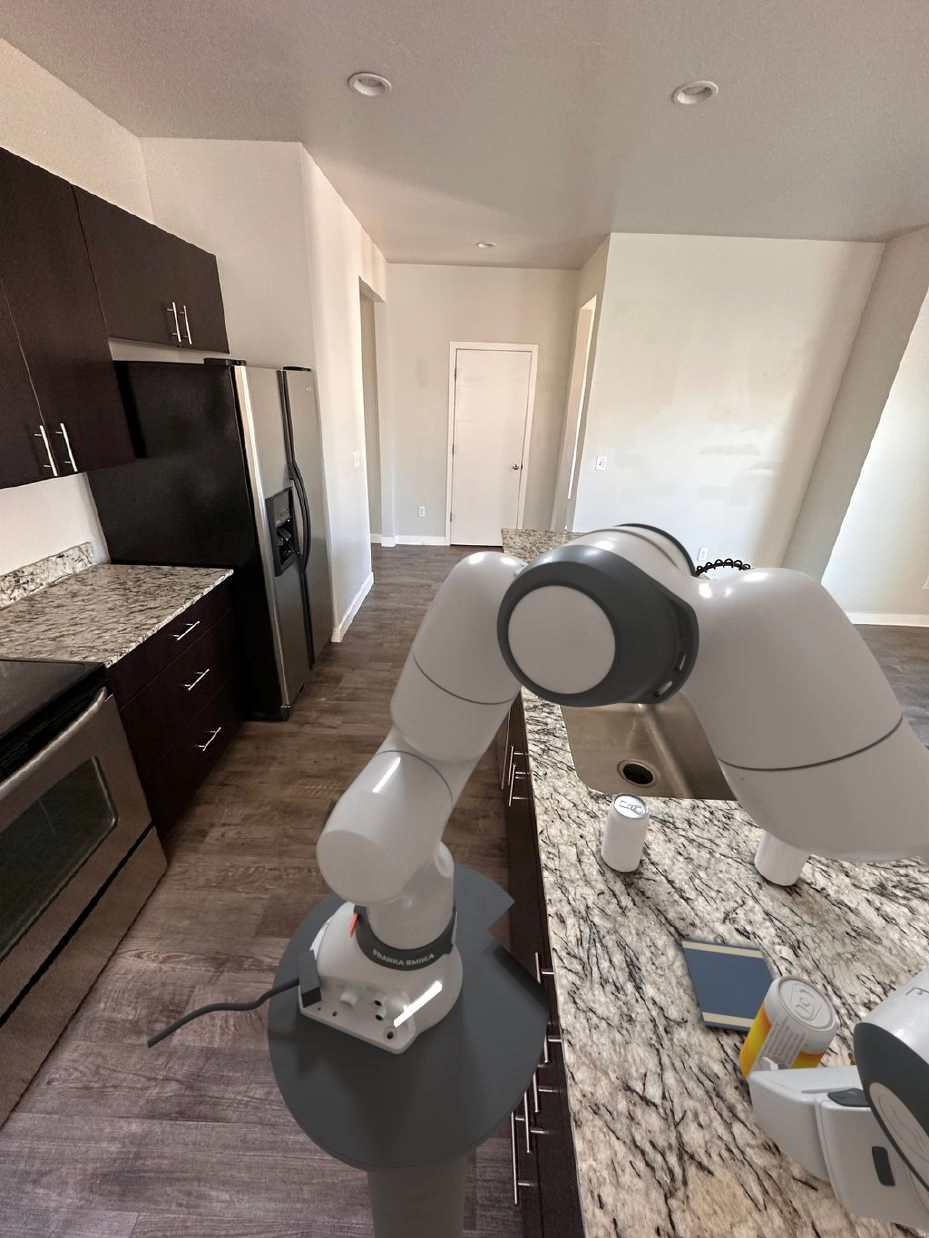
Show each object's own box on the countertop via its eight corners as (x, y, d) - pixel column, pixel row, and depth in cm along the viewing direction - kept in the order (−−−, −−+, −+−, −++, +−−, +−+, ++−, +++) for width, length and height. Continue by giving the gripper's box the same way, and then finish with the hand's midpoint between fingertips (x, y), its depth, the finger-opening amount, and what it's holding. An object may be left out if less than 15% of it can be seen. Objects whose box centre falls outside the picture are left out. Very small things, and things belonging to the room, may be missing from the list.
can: (633, 880, 81) (646, 826, 76) (595, 862, 84) (605, 809, 79) (642, 852, 86) (655, 800, 81) (606, 836, 89) (616, 785, 84)
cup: (787, 853, 86) (812, 791, 81) (812, 895, 79) (842, 830, 73) (739, 848, 87) (761, 786, 81) (760, 889, 80) (785, 825, 74)
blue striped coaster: (704, 1026, 62) (705, 1024, 62) (680, 939, 72) (680, 938, 72) (796, 1039, 61) (797, 1037, 61) (758, 950, 71) (759, 948, 71)
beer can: (802, 1077, 57) (846, 1002, 51) (788, 1126, 53) (833, 1051, 47) (747, 1033, 61) (781, 958, 55) (729, 1076, 57) (765, 1000, 51)
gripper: (1047, 1090, 39) (896, 1020, 52) (806, 1106, 38) (712, 1030, 51) (1085, 1196, 37) (917, 1096, 50) (829, 1217, 36) (725, 1108, 49)
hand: (812, 1063), depth 50 cm, fingers open, 8 cm apart
